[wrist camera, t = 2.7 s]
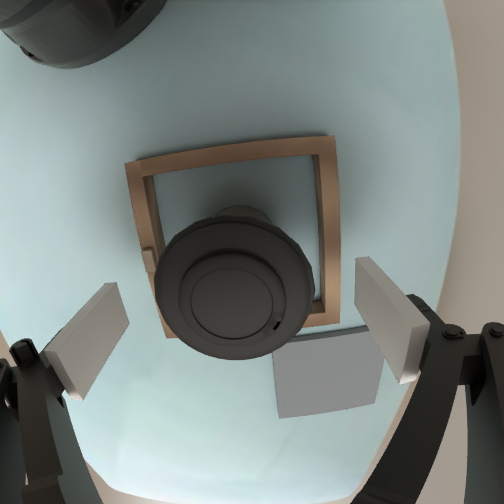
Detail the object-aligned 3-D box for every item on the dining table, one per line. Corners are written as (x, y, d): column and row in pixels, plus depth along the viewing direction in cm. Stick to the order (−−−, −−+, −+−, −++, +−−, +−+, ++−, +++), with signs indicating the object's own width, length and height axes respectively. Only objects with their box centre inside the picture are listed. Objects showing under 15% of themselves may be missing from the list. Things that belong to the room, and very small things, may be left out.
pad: (271, 339, 26) (271, 344, 25) (386, 322, 25) (389, 327, 25) (278, 413, 30) (278, 418, 29) (372, 398, 29) (374, 403, 28)
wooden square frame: (135, 161, 21) (121, 164, 18) (327, 136, 20) (336, 135, 18) (171, 325, 26) (164, 342, 23) (334, 310, 25) (341, 327, 22)
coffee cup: (295, 283, 24) (317, 366, 15) (196, 290, 24) (167, 373, 15) (290, 183, 21) (319, 213, 12) (181, 192, 22) (129, 231, 12)
